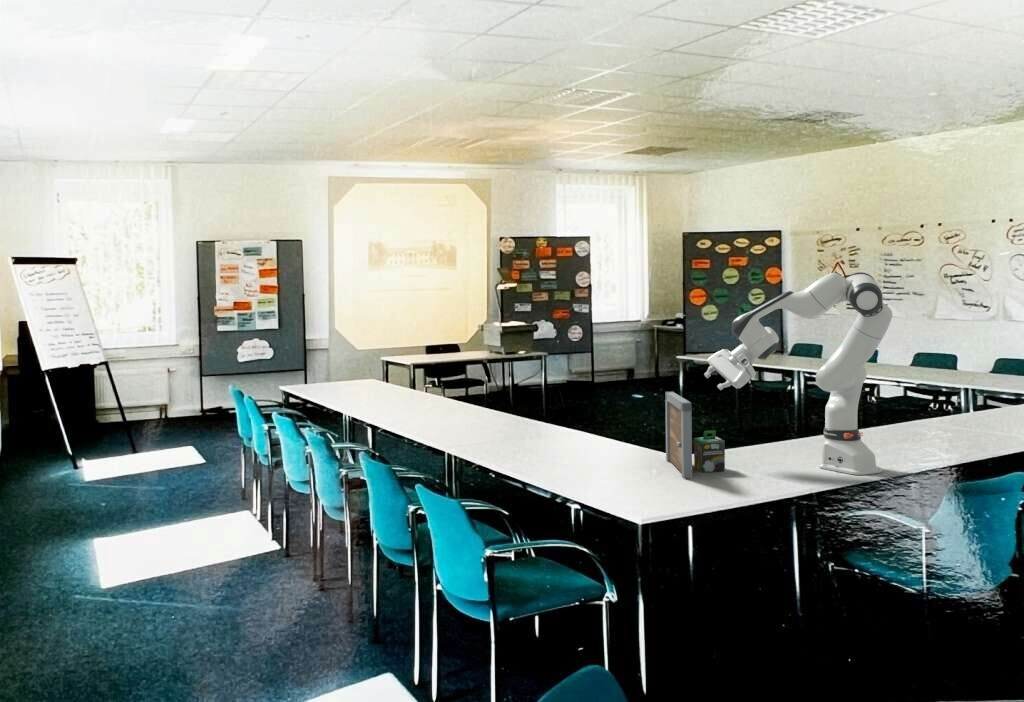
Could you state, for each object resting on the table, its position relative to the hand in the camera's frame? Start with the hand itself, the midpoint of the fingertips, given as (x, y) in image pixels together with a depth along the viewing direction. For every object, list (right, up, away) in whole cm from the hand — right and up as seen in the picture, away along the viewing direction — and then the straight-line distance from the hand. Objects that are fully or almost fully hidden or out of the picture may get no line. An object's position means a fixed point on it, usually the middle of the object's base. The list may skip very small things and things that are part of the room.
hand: (711, 382), depth 313 cm
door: (-15, -32, -9) cm, 36 cm away
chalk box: (-4, -32, -10) cm, 34 cm away
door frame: (-15, -32, -8) cm, 36 cm away
